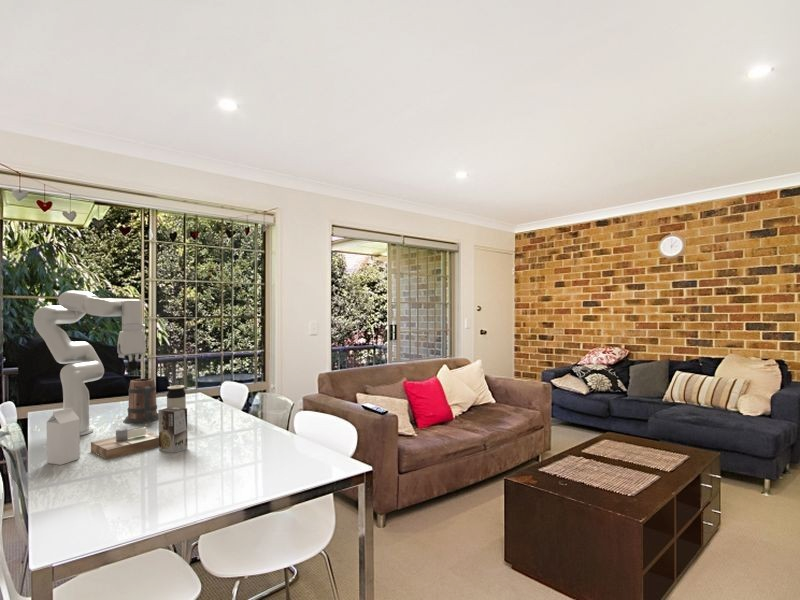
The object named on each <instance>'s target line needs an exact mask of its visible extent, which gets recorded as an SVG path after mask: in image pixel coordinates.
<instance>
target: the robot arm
mask: <svg viewBox="0 0 800 600" xmlns="http://www.w3.org/2000/svg"><path fill="white" fill-rule="evenodd" d="M57 301H58V304H59V305H45V306H44V305H43V306H42V307H40V308H37V309H36V310H35V312H34V314H33V317H32V318H33V320H32V321H33V326H34V327H35V330H36V331H37V333H38V334H39V336H40V337H41V338H42V339H43V340H44V342H45V344H46V346H47V348H48V350H49V351H50V353H51V355H52V357H53V359H54V360H55V361H56V363H59V365H60V364H62V365H64V366H63V367H62V368H61V369H60V373H59V378H60V382H61V385H62V386H61V387H62V398H63V399H62V400H63V401H62V402H63V403H62V405H63V406H62V407H63V409H62V410H64V409H68V408H73V411H74V412H75V414H76V415H77V416H78V418H79V427H80V436H85V435H88V434H91V433H93V432H94V431H95V430H94V429H95V428H94V427H92V426H90V391H89V389H88V387H87V385H86V384H85V383H88V382H94V381H98V380H100V379H102V378H103V376H104V374H105V368H104V365H103V363H102V360H101V359H100V357H99V356H98V354H97V352H96V351H95V349H94V347H93V346H92V344H90V343H89V342H87V341H83V340H82V341H72V340H71V339H70V337H69V335H68V334H67V332H66V331H65V330H64V329H62V328H61V327H60V326H58V325H64V324H75V323H77V322H79V320H81V319H82V318H83V317H85V315H86V314H87V315H90V316H96V317H105V318H107V317H110V318H111V317H121V331H119V334H118V337H117V338H118V339H117V354H118V358H120V359H121V358H122V359H125V360H126V361H127V369H128V371H137V368H138V361H139V359H140V358H141V357H144V356H146V355H147V354H146V351H147V345H146V344H147V342H146V337H145V331H144V330H143V329H144V328H145V329H146V324H143V304H142V303H143V302H142V301H141V300H140V299H135V298H133V299H123V298H100V297H99V296H98V295H96V294H93V293H92V292H90V291H85V290H67V291H64V292H62V293H61V294H60V295H59V296H58V298H57Z"/></svg>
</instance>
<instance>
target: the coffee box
mask: <svg viewBox="0 0 800 600" xmlns="http://www.w3.org/2000/svg"><path fill="white" fill-rule="evenodd" d="M157 411H158V412H157V413H158V416H159V420H158V436H159V446H158V450H159V451H160V452H166V453H171V454H172V453H173V454H177V453H179V452H183V451H185V450H188V449H189V448H188V446H189V445H188V408H179V407H168V408H167V407H165V408H162V409H158V410H157Z"/></svg>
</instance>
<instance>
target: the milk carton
mask: <svg viewBox="0 0 800 600" xmlns="http://www.w3.org/2000/svg"><path fill="white" fill-rule="evenodd" d="M80 440H81V439H80V427H79V418H78V416H77V415H76V414H75V412H74V411H73V408H68V409H64V410H63V409H61V410H60V409H59V410H55V411H53V412H52V415H51V416H50V418H49V419H48V420H47V421H46V463H47V464H52V465H58V466H59V465H60V466H61V465H62V466H63V465H65V464H68V463H70V462H74V461H76V460H80V457H81V456H80V455H81V454H80V453H81V450H80V449H81V448H80V447H81V446H80V445H81V444H80V442H81V441H80Z"/></svg>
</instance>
